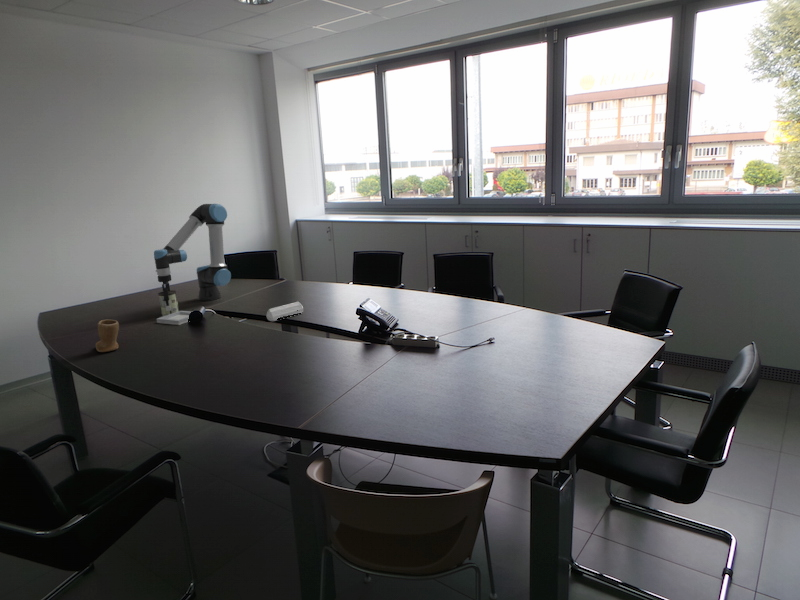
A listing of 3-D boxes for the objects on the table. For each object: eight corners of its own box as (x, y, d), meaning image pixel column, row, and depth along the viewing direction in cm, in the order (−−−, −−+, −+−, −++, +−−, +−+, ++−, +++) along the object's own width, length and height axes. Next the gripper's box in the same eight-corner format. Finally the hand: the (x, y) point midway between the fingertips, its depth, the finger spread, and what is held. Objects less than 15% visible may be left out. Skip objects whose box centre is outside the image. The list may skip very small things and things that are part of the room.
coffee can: (167, 312, 334) (163, 290, 330) (182, 311, 333) (179, 290, 329) (158, 316, 324) (154, 294, 320) (174, 316, 323) (170, 294, 319)
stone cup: (124, 350, 263) (118, 321, 259) (97, 355, 257) (90, 326, 253) (121, 342, 276) (116, 315, 272) (96, 347, 270) (90, 319, 266)
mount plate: (181, 314, 326) (180, 310, 325) (202, 316, 318) (202, 312, 317) (157, 322, 310) (156, 318, 309) (179, 325, 302) (178, 320, 302)
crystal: (271, 316, 294) (307, 307, 310) (265, 309, 297) (300, 300, 313) (269, 326, 298) (304, 316, 314) (263, 318, 301) (298, 309, 318)
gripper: (159, 272, 332) (164, 304, 337) (155, 279, 309) (161, 313, 314) (171, 271, 335) (177, 303, 340) (169, 277, 312) (174, 311, 317)
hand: (169, 308), depth 327 cm, fingers open, 13 cm apart
